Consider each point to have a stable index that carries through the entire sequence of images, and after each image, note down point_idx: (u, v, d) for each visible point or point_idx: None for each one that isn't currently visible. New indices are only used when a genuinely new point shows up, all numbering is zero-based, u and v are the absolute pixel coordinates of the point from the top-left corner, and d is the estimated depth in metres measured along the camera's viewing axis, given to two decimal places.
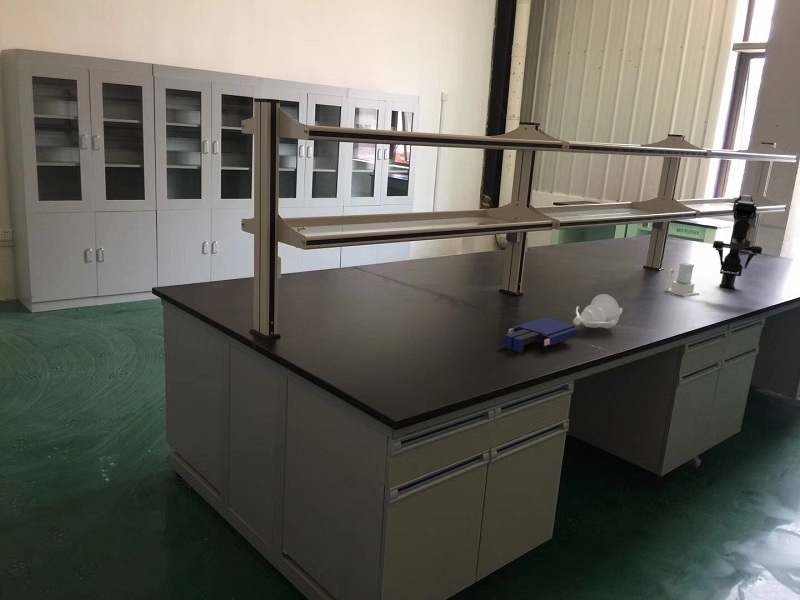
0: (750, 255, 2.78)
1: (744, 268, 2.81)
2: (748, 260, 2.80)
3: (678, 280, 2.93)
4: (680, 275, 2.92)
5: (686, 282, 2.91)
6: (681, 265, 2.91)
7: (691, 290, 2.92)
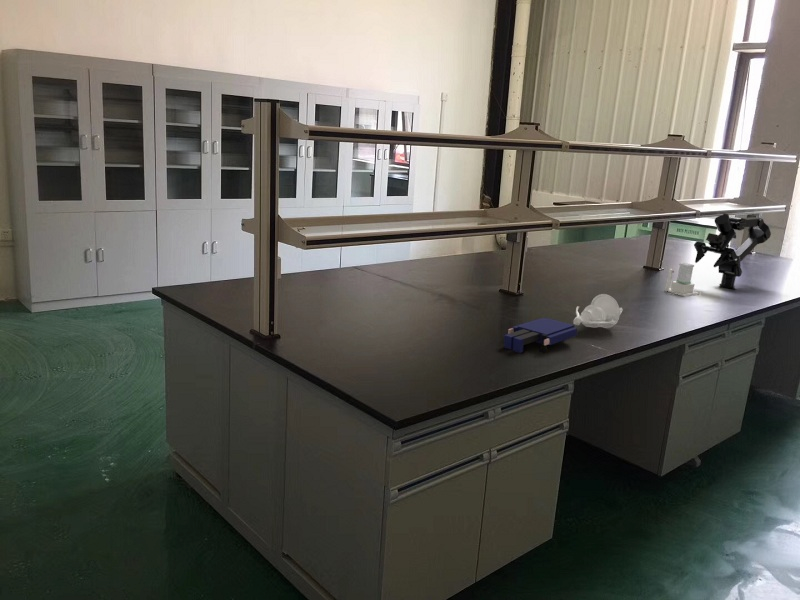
0: (722, 253, 2.92)
1: None
2: (719, 259, 2.93)
3: (678, 280, 2.93)
4: (680, 275, 2.92)
5: (686, 282, 2.91)
6: (681, 265, 2.91)
7: (691, 290, 2.92)
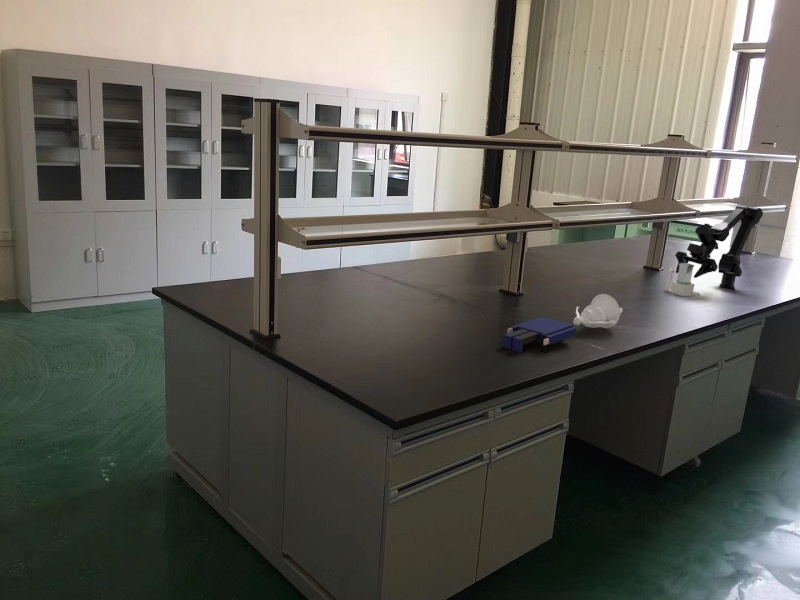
0: (702, 264, 2.88)
1: None
2: (699, 269, 2.88)
3: (678, 280, 2.93)
4: (680, 275, 2.92)
5: (686, 282, 2.91)
6: (681, 265, 2.91)
7: (691, 290, 2.92)
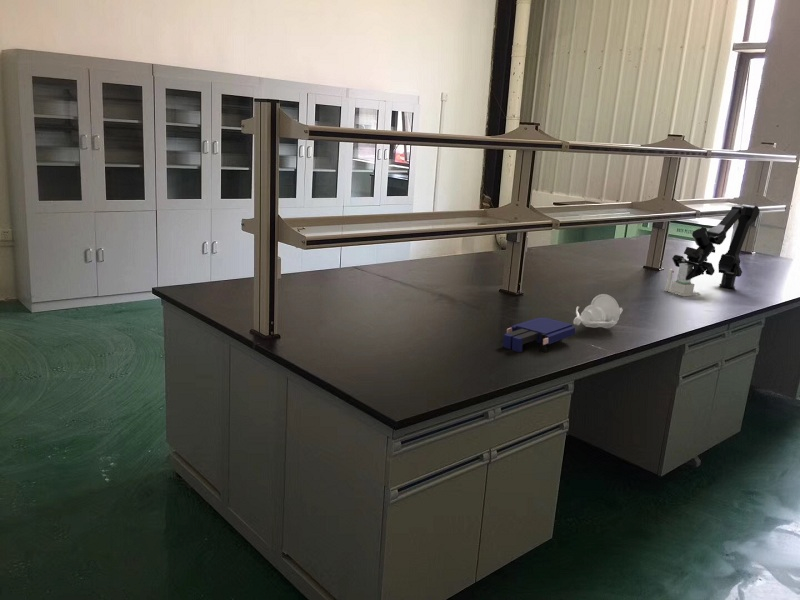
0: (694, 266, 2.89)
1: None
2: (691, 272, 2.90)
3: (678, 280, 2.93)
4: (680, 275, 2.92)
5: (686, 282, 2.91)
6: (681, 265, 2.91)
7: (691, 290, 2.92)
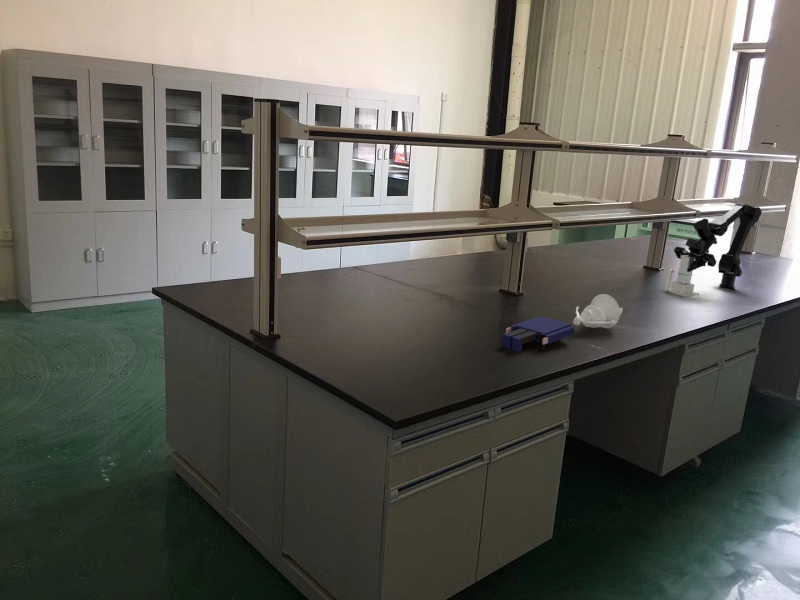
0: (696, 258, 2.88)
1: None
2: (693, 263, 2.89)
3: (679, 272, 2.92)
4: (681, 267, 2.91)
5: (687, 274, 2.90)
6: (682, 257, 2.90)
7: (691, 290, 2.92)
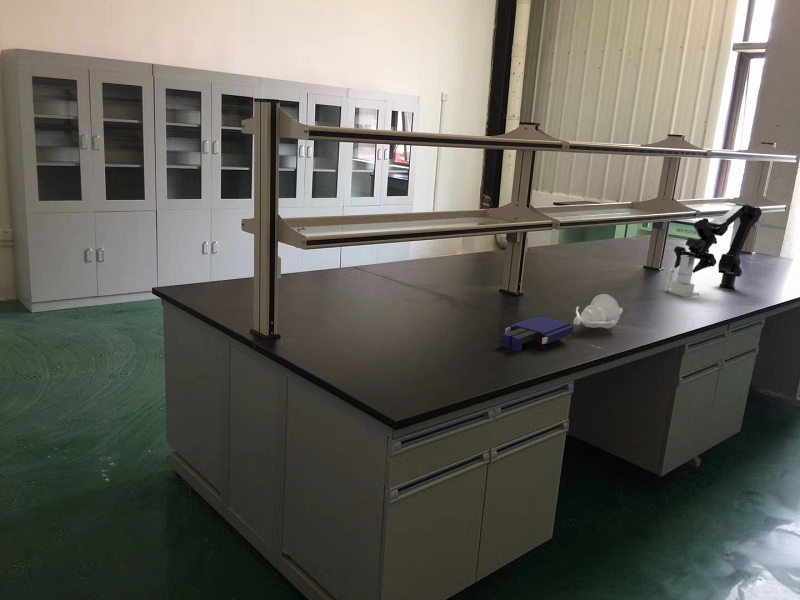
0: (701, 258, 2.86)
1: (692, 271, 2.87)
2: (698, 264, 2.87)
3: (679, 272, 2.92)
4: (681, 267, 2.91)
5: (688, 274, 2.90)
6: (682, 257, 2.90)
7: (691, 290, 2.92)
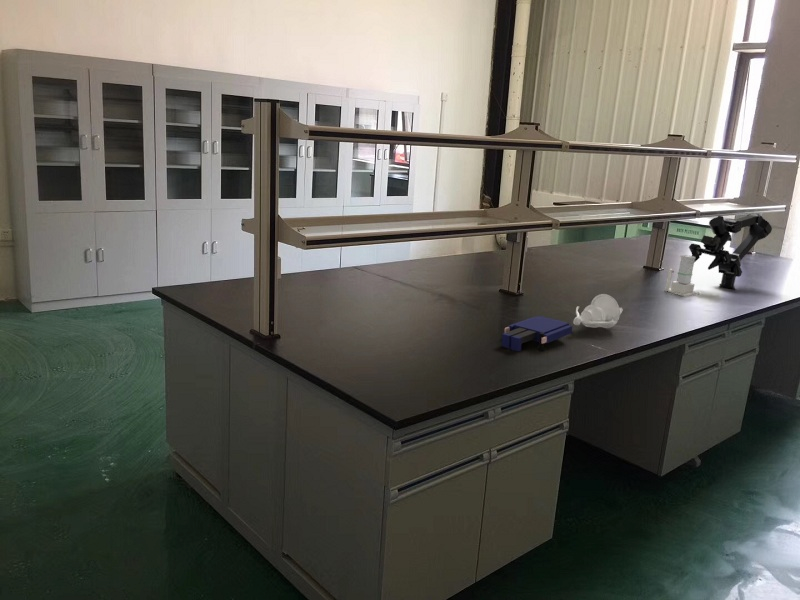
0: (716, 255, 2.91)
1: None
2: (713, 261, 2.92)
3: (679, 272, 2.92)
4: (681, 267, 2.91)
5: (688, 274, 2.90)
6: (682, 257, 2.90)
7: (691, 290, 2.92)
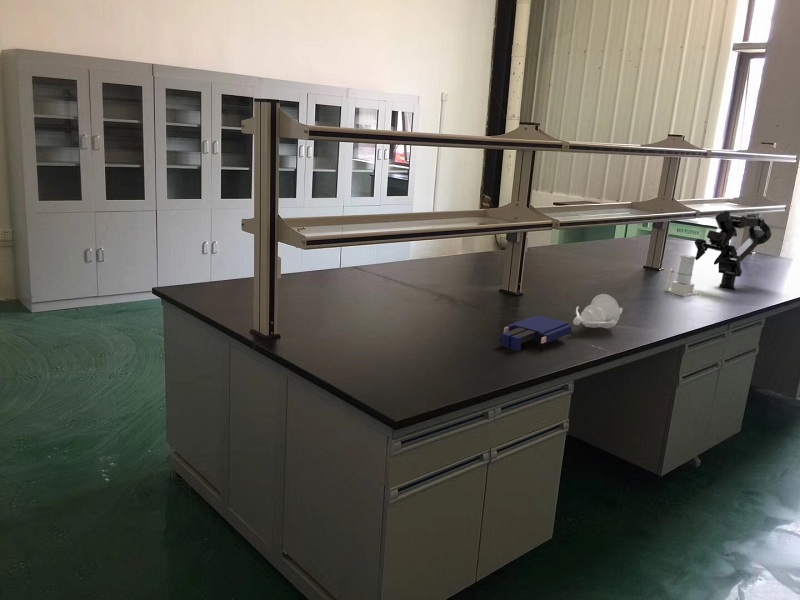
0: (722, 250, 2.92)
1: None
2: (719, 256, 2.92)
3: (679, 272, 2.92)
4: (681, 267, 2.91)
5: (688, 274, 2.90)
6: (682, 257, 2.90)
7: (691, 290, 2.92)
